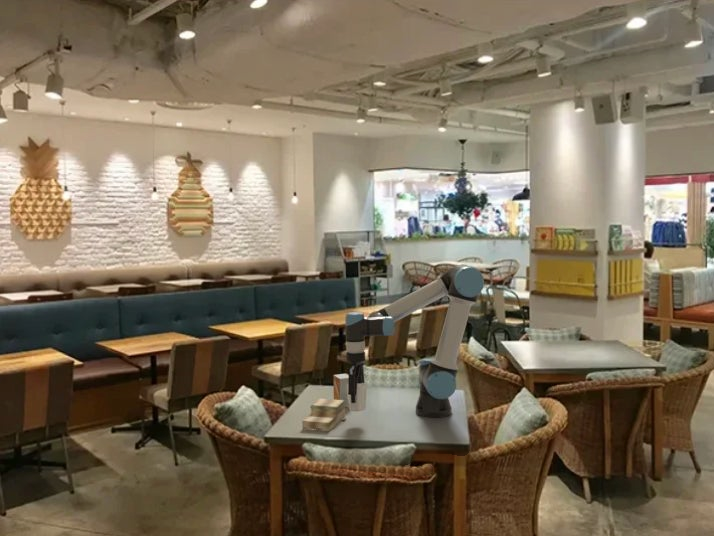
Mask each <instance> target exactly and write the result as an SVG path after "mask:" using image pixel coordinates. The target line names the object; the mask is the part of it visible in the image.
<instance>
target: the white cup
mask: <svg viewBox="0 0 714 536" xmlns="http://www.w3.org/2000/svg"><path fill="white" fill-rule="evenodd" d="M347 395H348V384H347ZM357 400H358V411H357V412H363V411H365V410H367V409H366V408H367V406H366V405H367V404H366V403H367V384H366V383H365V382H364V383H361V384H358V383H357ZM348 403H349V407H348V410H349V411H351V403H350V395H348ZM351 412H352V411H351Z"/></svg>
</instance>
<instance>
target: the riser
mask: <svg viewBox="0 0 714 536" xmlns="http://www.w3.org/2000/svg"><path fill="white" fill-rule="evenodd" d="M344 404H345V401H344V400H334V398H333V399H330V398H318V399H317V400H316V401H315V402H313V403H312V404H311V405H310V411H311V413H310V414H309V415H308V416H306V417H305V418H304V419H302V420H301V422H302V426H301V427H302V428H303V429H314V430H313V431H315V429H316V430H324V431H323V432H327V431H329V430H330V431H331V430H332V429H334V427H336V425H338V423H340V422H346V421H347V418H346V415H345V407H344ZM303 429H302V430H303ZM330 431H329V432H330Z"/></svg>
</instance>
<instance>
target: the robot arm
mask: <svg viewBox="0 0 714 536" xmlns="http://www.w3.org/2000/svg"><path fill="white" fill-rule="evenodd" d="M484 286H485V279H484V276H483V273H482V272H481V271H480V270H479V268H477V267H474V266H472V265H468V264H462V263H461V264H457V265H455V266H453V267H451V268H450V269H448V270H446V271H444V272H443V273H441V274H440V275H439V274H438V275H437V276H436V279H435V280H433V281H432V282H429V283H427V284H426V285H424V286H422V287H420V288H418V289H417V290H415V291H413V292H411V293H408V294H407V295H405V296H403V297H401V298H399V299H398V300H396V301H393V302H392V303H390V304H388V305H386V306H384V307H383V308H381V309H378V310H375V311H372V312H371V313H369V315H368V317H366V316H365V314H364V313H363V312H358V311H356V312H355V311H353V312H347V313H346V315H345V319H344V320H345V323H344V324H345V326H344V327H345V328H344V329H345V342H344V345H345V350H346V353H345V355H346V357H345V358H346V361H347V362H348V363H350V366H349V368H348V370H347V375H349V381H348V395H350V403H351V412H359V411H358V400H357V383H358V384H361V383H365V372H364V370H365V369H364V362H365V361H366V352H365V351H366V340H365V339H366V338H365V337H379V336H381V337H382V336H383V337H384V336H385V337H388V336H393V335H394V334H395V330H396V329H395V323H396V322H398V321H400V320H402V319H403V318H405V317H407V316H409V315H411V314H413V313H415V312H417V311H418V310H421V309H423V308H425V307H426V306H428V305H430V304H432V303H434V302H435V301H437V300H439V299H441V298H443V297H448V298H449V303H448V307H447V310H446V315H445V319H444V321H443V322H444V323H443V326H442V328H441V329H442V330H441V333H440V334H441V335H440V337H439V342H438V344H437V349H436V352H435V357H433V358H423V359H421V360H420V361H419V367H418V368H419V396H418V397H417V398H418V399H417V402H416V406H415V413H416V415H419V416H421V417H426V418H442V417H443V418H444V417H447V416H450V415H452V408H453V407H452V405H451V403H450V399H449V398H450V397H452V396H453V395H454V394H455V391H456V390H457V379H456V378H457V374H458V371H459V367H458V365H457V361H458V356H459V352H460V348H461V345H462V341H463V337H464V333H465V332H466V331H465V330H466V327H467V323H468V320H469V319H468V318H469V316H470V312H471V309H472V308H471V307H472V306H473V305H475V304H476V303H477V301H478V297H479V294H480V293H481V292H482V291H483V289H484V288H485V287H484Z"/></svg>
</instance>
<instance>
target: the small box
mask: <svg viewBox="0 0 714 536" xmlns="http://www.w3.org/2000/svg"><path fill="white" fill-rule="evenodd" d="M332 377H333V400H344V401H345V404H344V408H347V407H348V408H349V403H348V395H347V384H348V381H349V374H348V373H340V374H333V376H332Z"/></svg>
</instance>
